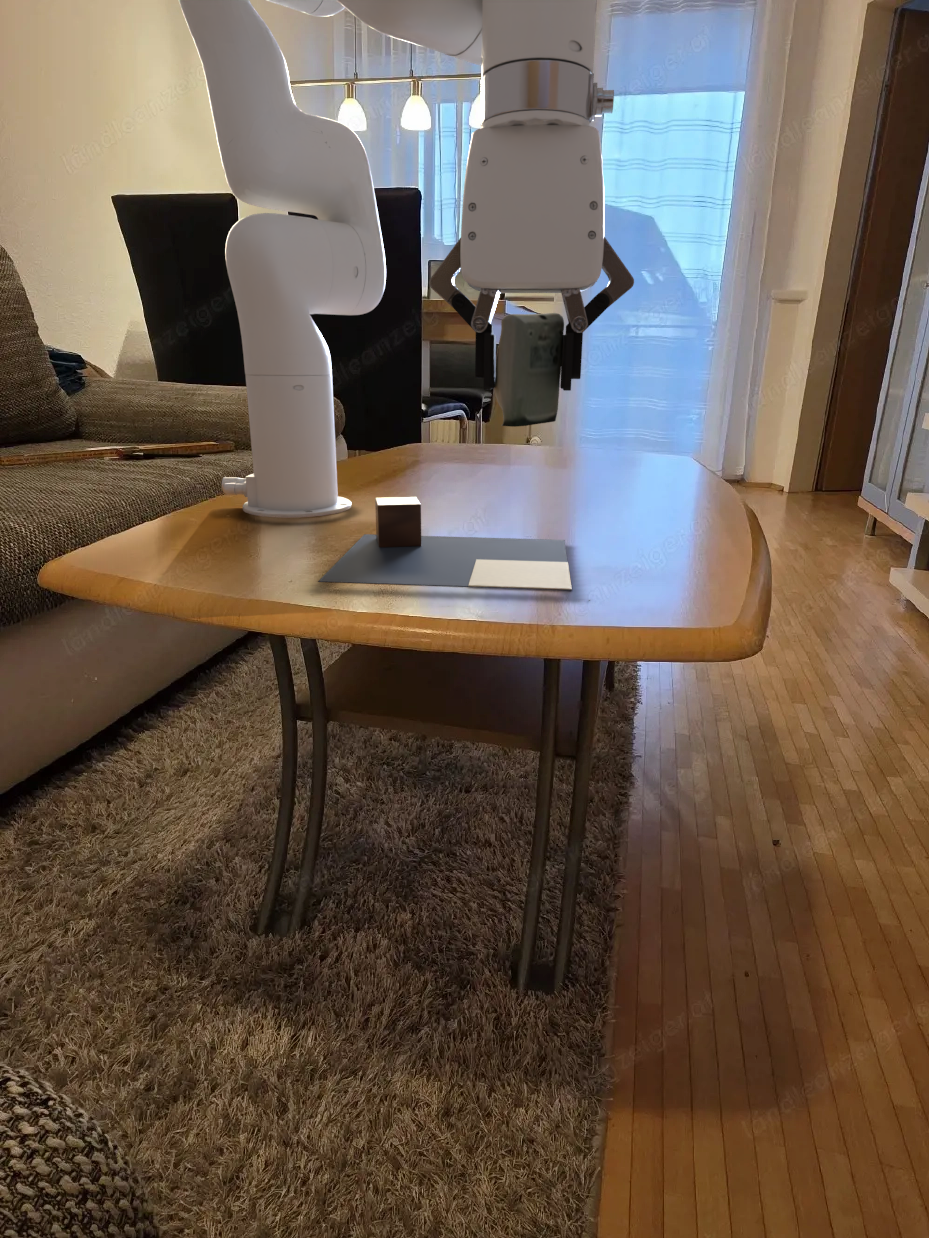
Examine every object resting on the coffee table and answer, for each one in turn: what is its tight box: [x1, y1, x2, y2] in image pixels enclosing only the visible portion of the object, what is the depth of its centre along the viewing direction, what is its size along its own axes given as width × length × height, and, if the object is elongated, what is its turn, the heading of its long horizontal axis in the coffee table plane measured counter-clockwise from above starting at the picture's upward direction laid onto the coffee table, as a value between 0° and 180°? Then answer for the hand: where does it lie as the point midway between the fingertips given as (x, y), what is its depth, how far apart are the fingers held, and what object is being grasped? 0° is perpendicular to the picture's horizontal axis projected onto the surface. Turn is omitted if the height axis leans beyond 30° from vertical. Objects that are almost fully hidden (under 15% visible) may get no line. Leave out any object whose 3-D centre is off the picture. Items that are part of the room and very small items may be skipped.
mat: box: [317, 533, 573, 591], centre depth 67 cm, size 20×17×1 cm
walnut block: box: [374, 496, 422, 547], centre depth 72 cm, size 4×4×4 cm
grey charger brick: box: [493, 312, 565, 428], centre depth 57 cm, size 6×5×8 cm
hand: (527, 386), depth 57 cm, fingers closed on grey charger brick, 5 cm apart
